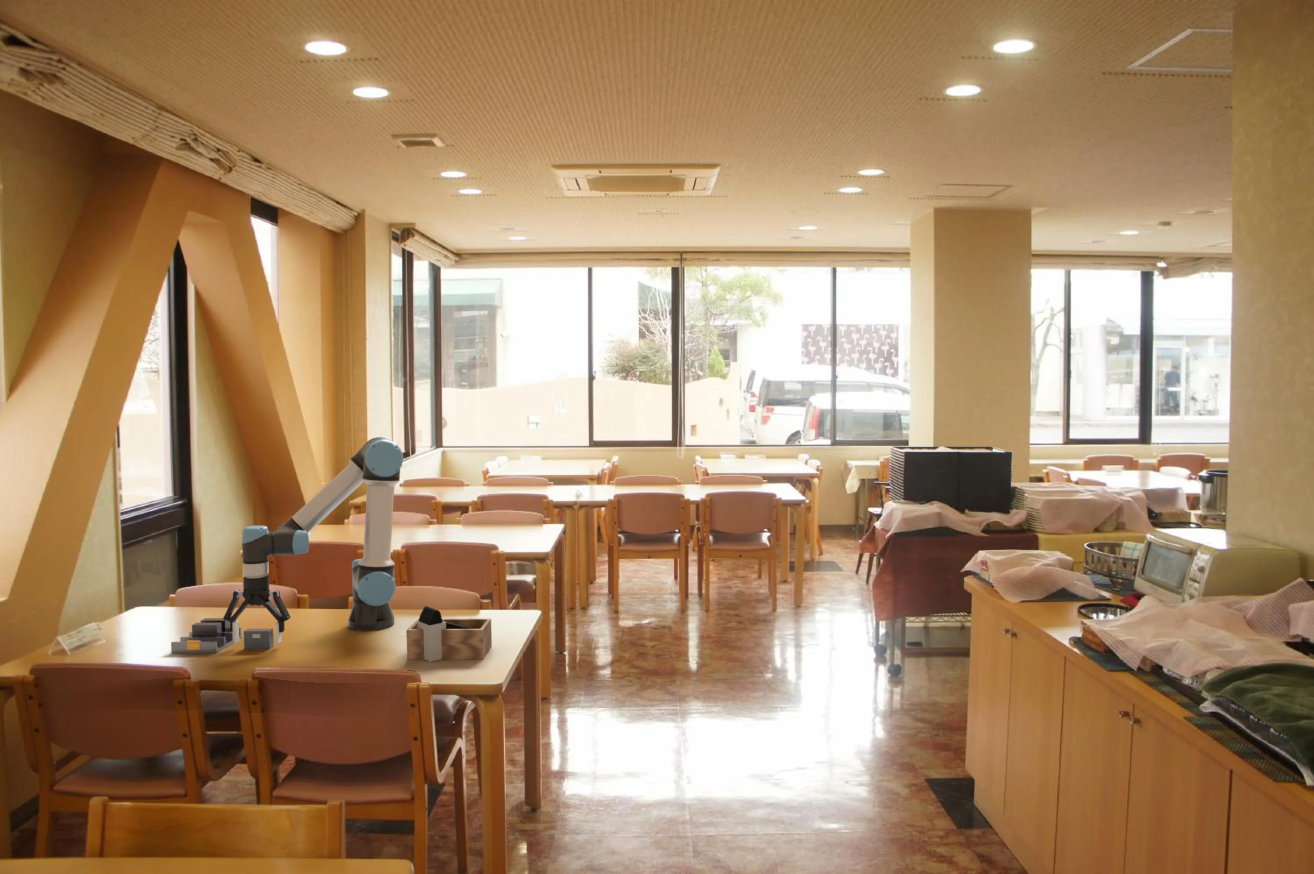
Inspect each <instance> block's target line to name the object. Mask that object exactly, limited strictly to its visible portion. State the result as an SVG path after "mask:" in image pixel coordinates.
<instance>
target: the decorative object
mask: <svg viewBox="0 0 1314 874" xmlns="http://www.w3.org/2000/svg"><path fill="white" fill-rule="evenodd" d="M418 619H419V621H417V629H422V630H424V659H425V661H427V662H430V663H431V662H435V661H439V660H443V659H442V643H441V630H444V629H472V628H469V627H465V626H462V625H458V624H454V623H450V622H446V621H442V619H443V617H442V613H441V612H440V610H438V609H436V608H433V607H430V606H428V605H426V606H424V607H423V609H422V611H421V612H420V615H419V618H418Z"/></svg>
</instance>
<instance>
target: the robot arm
mask: <svg viewBox="0 0 1314 874" xmlns="http://www.w3.org/2000/svg"><path fill="white" fill-rule="evenodd" d="M348 462H349V464H348V465H347V466H346V467H345V468H343V469H342V470H341V471H339V473H338V474H337V475H336V476H335V477H334V478H333V479H332V480H330V481H329V482H328V483H327V484H326V485H325V486H324V487H322V489H321V490H319V491H318V493H316V494H315V495H314V496H313V497H312V498H311V499H309V501H308V502H307V503H306V504H304V505H303V506H302V507H301V508H300V509H298V511H297V512H296V513H295V514H294V515H292V516H291V517H290V518H289V519H288V520H287V521H285V523H283V524H281V525H279V526H278V528H277V529H276V531H269V528H268V526H266V525H250V526H245V527H244V528H243V529H242V532H241V533H242V535H241V536H242V538H241V543H242V544H241V547H242V548H241V550H242V576H244V577H242V582H243V583H242V587H243V590H240V589H236V590H234V591H233V592H232V599H231V600H230V603H229V605H228V607H227V610H226V611H225V613H224V615H223V617H222V618H223V619H224V620H227V621H229V622H230V632H233V643H232V644H237V643H238V642H240V639H239V627H240V620H237V619H238V618H239V617H240V616H241V614H242V613H244V611H245V610H246V608H247V607H248V606H249V605H250V606H263V607H264V608H266V609H267V611H268V612H269V613H270V614H271V615H272V616H273V618H274V619H275V620H276V621H277V622H275V644H280V643H282V641H283V633H284V632H285V628H286V627H285V622H286V621H288V620H290V619H291V615H290V612H289V611H288V609H287V607H286V605H285V603H284V602H283V601H284V600H283V599H282V598H281V593H280V590H279V589H277V590H273V591H271V590H270V576H269V573H270V568H269V566H270V565H269V564H270V563H269V562H270V561H269V560H270V559H269V557H271V556H273V557H274V556H289V555H290V556H291V555H301V554H307V553H309V550H310V547H309V546H310V539H309V533H310V532H311V531H312V530H314V528H315V527H317V525H319V524H320V523H321V522H322V521H323V520H324V519H326V518H327V516H329V515H330V513H332V512H333V511H334V510H335V509H336V508H337V507H338V506H339V505H340V504H342V502H344V501H345V500H346V499H347V498H349V496H350V495H351V494H352V493H354V491H355V490H357V489H358V488H359V487H360V486H361V485H362V484H363V483H365V484H366V485H367V486H366V502H365V504H366V505H365V516H364V517H365V519H364V520H365V521H364V536H363V537H364V538H363V554H362V556H363V557H362V558H359V559H354V560H353V561H352V562H351V576H352V580H351V581H352V607H351V610H350V614H349V617H348V619H347V620H348V621H347V622H348V623H347V624H348V628H349V629H351V630H355V631H375V630H381V629H386V628H389V627H392V626H393V625H395V615H394V612H393V610H392V607H391V604H390V601H391V600H392V598H393V597H394V596H395V592H396V589H397V588H396V587H397V585H396V581H395V567H396V564H395V562H394V560H393V559H392V558H391V551H392V537H393V535H392V533H393V517H394V500H395V486H396V485H397V484H398V483H399V482H400V479H401V468H402V466H403V463H404V455H403V451H402V449H401V447H400V446H399V444H398V443H396V442H395V441H393V440H391V439H389V438H386V437H379V436H378V437H373V438H370V439H369V440H368V441H366V442H365V443H363V445H362V447H360V448H359V450H357V451H356V453H355V454H354V455H353V456H352V457H351V458H350V459H349V460H348ZM270 596H271V598H272V599H273V602H274V604H275V605H276V606H275V605H274V604H273V602H272V600H271V599H270V598H269V597H270ZM240 598H244V600H243V602H242V603H241V605H240V606H239V607H238V608H237V609H236V606H237V604H238V603H239V600H240ZM235 609H236V610H235ZM234 611H235V612H234ZM233 612H234V613H233Z"/></svg>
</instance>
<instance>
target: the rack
mask: <svg viewBox="0 0 1314 874" xmlns="http://www.w3.org/2000/svg"><path fill="white" fill-rule="evenodd" d="M199 621H200V622H195V623H193V624H191V631H190V632H189V633H188V636H180V639H179V640H180V641H170V646H171V647H170V649H171V651H170V653H171V654H175V655H177V654H193V655H194V654H218V653H220V652H221V651H223V650H224V649H226V648H228V647H229V646H231V645H232V644H234V643H233V632H230V622H229V621H227V620H224V619H223V617H212V618H210V617H208V618H207V617H206V618H205V617H204V618H203V619H200V620H199ZM240 639H242V627H241V626H239V640H240Z"/></svg>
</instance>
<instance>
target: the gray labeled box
mask: <svg viewBox="0 0 1314 874" xmlns="http://www.w3.org/2000/svg"><path fill="white" fill-rule="evenodd" d="M274 645H275V644H274V628H247V629H245V630H243V648H244V650H245V651H247V650H248V651H250V650H251V651H252V650H253V651H256V650H257V651H262V650H263V651H265V650H266V651H267V650H268V651H269V650H271V649H273V648H274Z"/></svg>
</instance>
